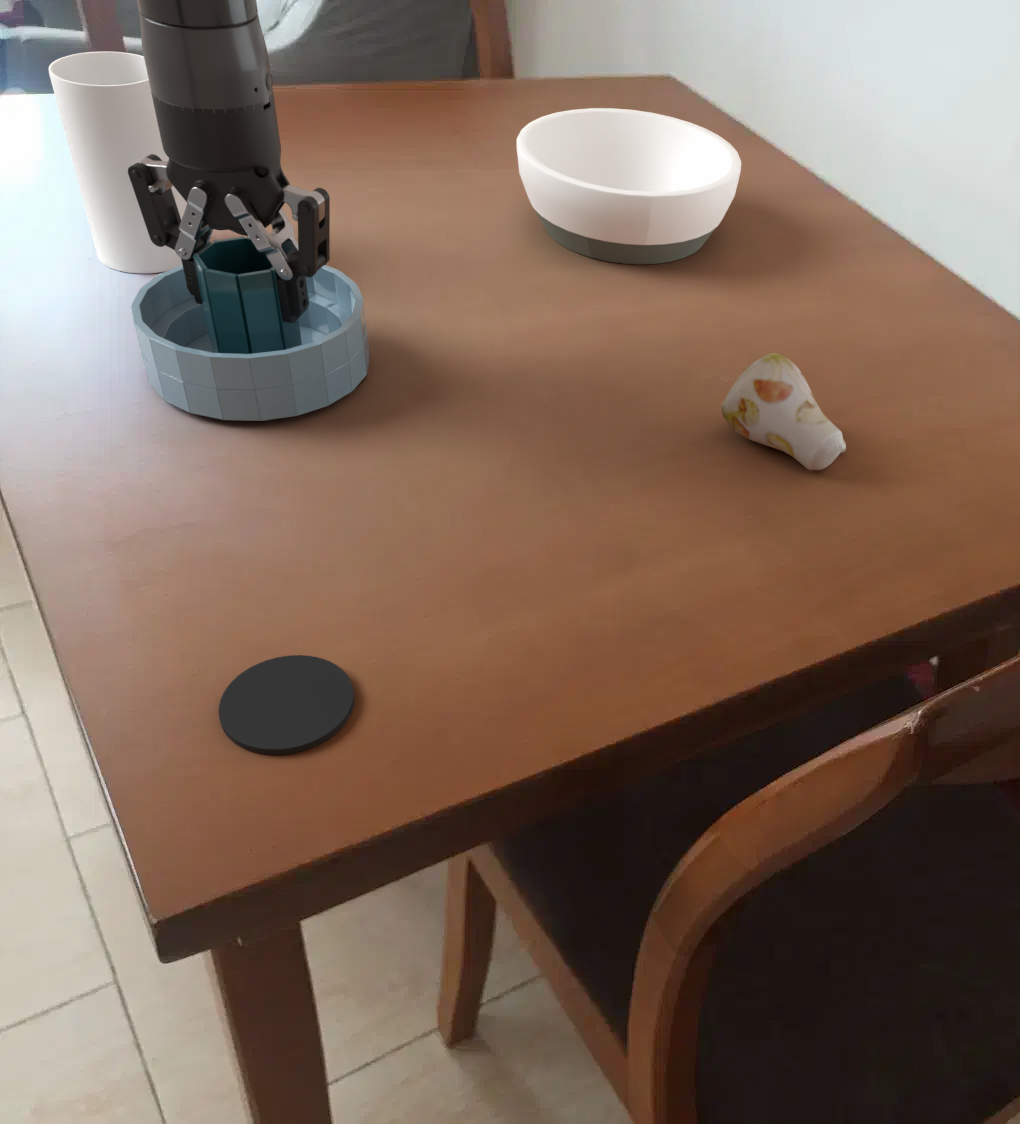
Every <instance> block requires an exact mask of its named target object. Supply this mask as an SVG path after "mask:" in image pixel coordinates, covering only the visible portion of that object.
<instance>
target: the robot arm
mask: <svg viewBox="0 0 1020 1124" xmlns="http://www.w3.org/2000/svg"><path fill="white" fill-rule="evenodd" d="M257 3H258V2H257V0H136V4H137V8H138V17H139V24H140V40H141V50H142V56H144V60H145V65H146V70H147V74H148V79H149V84H150V88H151V94H152V99H153V104H154V108H155V113H156V118H157V123H158V127H159V132H160V137H161V142H162V146H163V150H164V152H165V154H166V155H167V156H168V157H169V160H168V162H167V161H162V160H161V159H160V157H158V156H157V155H154V154H150V155H149V156H147V157H145V158H144V159H142V160H140V161H139V162H137V163H135V164H134V165H132V166H130V167H129V168H128V175H129V178H130V181H131V184H132V187H133V189H134V192H135V195H136V198H137V201H138V204H139V207H140V210H141V213H142V216H143V219H144V222H145V225H146V228H147V231H148V234H149V237H150V239H151V241H152V242H153V243H154V244H155V245H156V246H158V247H163V246H167V247H169V248H171V249H173V250H175V252H176V254H177V255H178V256H179V257H180V258H181V260H182V265H183V270H184V275H185V279H186V284H187V289H188V290H189V292H190V294H191V295H193V296H194V298H195V302H196V303H197V304H202V299H201V294H200V289H199V284H198V279H197V274H196V269H195V264H194V260H193V256H194V255H193V254H194V253H196V252H197V251H198V250H200V249H201V248H202V247H204V246H205V245H206V244H207V243H209V242H210V239H211V237H212V234H213V231H214V230H215V231H230V232H233V233H236V234H238V235H241V236H244V237H248V236H249V238H250V239H251V241H252V242H253V244H254V246H255V247H256V249H257V250H258V251H259V252H260V253H262V254H265V255H266V256H267V258H268V260H269V261H270V263H271V265H272V266H273V268H274V269H275V271H276V273H277V274H278V276H279V277H278V278H277V279H276V283H277V289H278V296H279V302H280V309H281V315H282V320H283V321H284V322H289V323H294V322H295V321H296V320H297V319H298V318H299V317H300V316H301V315H302V314H303V313H304V312H305V311H306V310H307V309H308V306H309V298H308V292H307V284H306V277H312V276H314V275H315V274H316V273H317V271H318V270H319V269H320V268H321V267H322V266H324V265H327V264H328V263H330V259H331V257H330V256H331V255H330V253H331V252H330V251H331V250H330V249H331V248H330V245H331V244H330V243H331V242H330V241H331V239H330V237H331V236H330V234H331V233H330V232H331V231H330V229H331V228H330V227H331V226H330V222H331V221H330V219H331V218H330V216H331V215H330V214H331V213H330V211H331V210H330V208H331V204H330V198H331V197H330V194H329V192H328V191H327V190H326V189H324V188H323V187H315V189H313V190H312V191H311V190H307V189H303V188H301V187H298V186H294V185H291V184H290V181H289V180H288V178H287V176H286V174H285V173H284V171H283V168H282V165H281V159H282V158H281V155H282V144H281V137H280V129H279V124H278V123H279V122H278V116H277V110H276V109H277V108H276V102H275V101H276V100H275V93H274V87H273V83H274V81H273V73H272V72H271V67H270V59H269V53H268V48H267V44H266V40H265V37H264V34H263V30H262V26H261V21H260V17H259V11H258V4H257ZM172 185H173V186H174V187H175V188H176V190H177V191H178V192H179V193H180V195H181V196H182V197H183V198H184V200H185V201H186V202H187V206H186V209H185V212H184V215H183V218H182V220H181V218H180V214H179V211H178V208H177V205H176V202H175V199H174V196H173V192H172V189H171V187H172ZM285 204H287V206H289V208H290V210H291V218H292V220H293V221H294V222H297V238H295V228H294V226H293V225H292V222H291V221H290V219H289V217H288V216H287V214H286V212H285V211H284V210H283V207H284V205H285ZM270 225H271V232H269V233H268V230H267V229H266V228H268V227H269V226H270ZM305 276H306V277H305ZM202 305H203V304H202Z"/></svg>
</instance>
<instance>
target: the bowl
mask: <svg viewBox="0 0 1020 1124" xmlns="http://www.w3.org/2000/svg"><path fill="white" fill-rule="evenodd" d="M515 142H516V155H517V164H518V174H519V176H520V179H521V182H522V185H523V188H524V190H525V193H526V195H527V199H528V201H529V202H530V204H531V207H532V208H533V209H534V211H535V213H536V215H537V216H538V218H539V220H540V222H541V223H542V225H543V226H544V228H545V230H546V232H547V234H548V235H549V236H550V237H551V238H552V239H553V240H554V241H555V242H556V243H558V244H560V245H561V246H563V247H564V248H566V249H568V250H570V251H573V252H575V253H577V254H578V255H579V254H580V255H582V256H585V257H588V258H591V259H596V260H600V261H603V262H604V261H605V262H608V263H609V262H611V263H617V264H624V265H627V264H628V265H654V264H655V265H657V264H663V263H670V262H674V261H678V260H681V259H685V258H687V257H689V256H691V255H694V254H695V253H696V252H697V251H699V250H700V249H701V248H702V247H703V246H704V244H705V243H706V241H707V240H708V239H709V238H710V236H711V235H712V234H713V233H714V231H715V230H717V229H716V228H717V227H718V226H719V225H720V224H721V222H722V220H723V219H724V217H725V216H726V213H727V212H728V210H729V208H730V207H731V204H732V202H733V200H734V198H735V197H736V193H737V188H738V184H739V180H740V176H741V171H742V160H741V158H740V155H739V152H738V151H737V150H736V148H735V147H734V146H733V145H732V144H731V143H730V142H728V141H727V140H726V139H724V138H723V137H721V135H718V134H717V133H715V132H714V131H711V130H710V129H707V128H706V127H703V126H700V125H698V124H695V123H693V122H690V121H687V120H683V119H680V118H677V117H673V116H669V115H665V114H661V113H655V112H651V111H643V110H637V109H636V110H635V109H628V108H627V109H625V108H616V107H615V108H614V107H612V108H611V107H590V108H578V109H577V108H575V109H569V110H563V111H556V112H553V113H549V114H546V115H543V116H540V117H538V118H536V119H534V120H532V121H530V122H529V123H527V124H526V125H525V126H524V127H523V128H521V130H520V131H519V134H518V135H517V138H516V141H515Z"/></svg>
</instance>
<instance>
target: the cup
mask: <svg viewBox="0 0 1020 1124" xmlns="http://www.w3.org/2000/svg"><path fill="white" fill-rule="evenodd" d="M48 75H49V79H50V83H51V86H52V91H53V94H54V97H55V101H56V104H57V108H58V112H59V116H60V120H61V123H62V124H61V125H62V127H63V131H64V135H65V138H66V142H67V146H68V150H69V153H70V158H71V161H72V165H73V169H74V173H75V176H76V180H77V184H78V187H79V191H80V195H81V199H82V203H83V206H84V210H85V214H86V217H87V220H88V225H89V228H90V229H89V230H90V233H91V236H92V240H93V243H94V247H95V252H96V255H97V259H98V261H99V262H100V263H102V265H104V266H106V267H107V268H109V269H112V270H115V271H118V272H123V273H129V274H157V273H164V272H166V271H168V270H171V269H173V268H176V267H178V266H180V265H182V260H181V258H180V257H179V256H178V255H177V254H176V252H175V250H173V249H171V248H169V247H167V246H163V247H158V246H156V245H155V244H154V243H153V242H152V241H151V239H150V237H149V234H148V231H147V228H146V225H145V222H144V219H143V216H142V213H141V210H140V207H139V204H138V201H137V198H136V195H135V192H134V189H133V187H132V184H131V181H130V178H129V175H128V168H129V167H130V166H132V165H134V164H135V163H137V162H139V161H140V160H142V159H144V158H145V157H147V156H149V155H150V154H154V155H157V156H158V157H160V159H161V160H162V161H167V162H168V160H169V157H168V156H167V155H166V154H165V152H164V150H163V146H162V142H161V137H160V132H159V127H158V123H157V118H156V113H155V108H154V104H153V99H152V94H151V88H150V84H149V79H148V74H147V70H146V65H145V60H144V56H143V55H141V54H136V53H130V52H123V51H87V52H78V53H73V54H69V55H66V56H62V57H59V58H57V59H55V60H53V61H52V62H51V63H50V64H49V66H48ZM171 189H172V192H173V196H174V199H175V202H176V205H177V208H178V211H179V214H180V218H181V220H182V218H183V215H184V212H185V209H186V206H187V202H186V201H185V200H184V198H183V197H182V196H181V195H180V193H179V192H178V191H177V190H176V188H175V187H174V186H173V185H172V187H171Z"/></svg>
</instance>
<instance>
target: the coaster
mask: <svg viewBox="0 0 1020 1124" xmlns="http://www.w3.org/2000/svg"><path fill="white" fill-rule="evenodd" d="M354 706H355V690H354V686H353V682H352V680H351V679H350V677H349V675H348V674H347V672H346V671H344V669H342V668H341V667H339V665H337V664H335V663H334V662H332V661H329V660H328V659H325V658H321V657H317V656H313V655H306V654H305V655H302V654H294V655H293V654H292V655H291V654H290V655H283V656H279V657H278V656H277V657H274V658H270V659H266V660H264V661H261V662H259V663H257V664H254V665H251V667H249V668H247V669H246V670H244V671H242V672H240V674H238V675H237V676H236V677H235V678H234V679H233V680H232V681H230V683H229V684H228V686H226V688H225V690H224V691H223V693H222V696H221V697H220V700H219V704H218V717H219V723H220V725H221V726H220V727H221V728H222V731H223V732H224V734H225V735H226V736H227V738H228V739H229V740H230V741H231V742H233V743H234V744H235V745H237V746H238V747H240V748H242V749H244V750H246V751H249V752H252V753H256V754H260V755H261V754H262V755H272V756H278V755H279V756H282V755H290V754H296V753H300V752H303V751H304V752H305V751H306V750H309V749H313V748H314V747H317V746H319V745H321V744H322V743H325V742H326V741H328V740H329V739H331V738H332V737H333V736H335V735H336V734H337V733H339V731H340V730H341V729H342V728H343V727H344V726H345V725H346V724H347V722H348V720H349V719H350V717H351V715H352V713H353V710H354Z"/></svg>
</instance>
